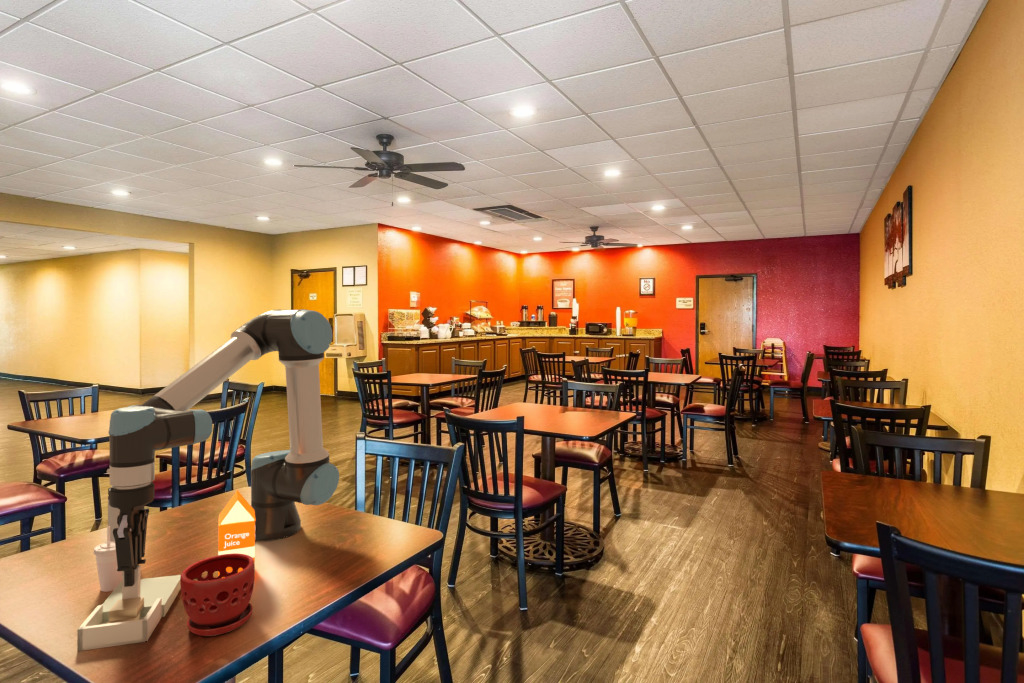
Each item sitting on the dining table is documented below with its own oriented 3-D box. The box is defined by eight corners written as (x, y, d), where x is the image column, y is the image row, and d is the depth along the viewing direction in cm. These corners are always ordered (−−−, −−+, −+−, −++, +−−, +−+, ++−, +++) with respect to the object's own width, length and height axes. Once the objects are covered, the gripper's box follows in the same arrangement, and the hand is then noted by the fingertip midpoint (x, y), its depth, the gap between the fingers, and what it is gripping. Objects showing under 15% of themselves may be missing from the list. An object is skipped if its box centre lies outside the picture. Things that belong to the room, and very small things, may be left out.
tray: (161, 617, 111) (161, 597, 111) (147, 641, 102) (147, 620, 102) (97, 625, 107) (98, 605, 107) (77, 651, 99) (77, 629, 99)
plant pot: (233, 601, 118) (233, 546, 117) (267, 620, 110) (267, 562, 110) (167, 627, 107) (168, 568, 107) (200, 651, 100) (200, 587, 99)
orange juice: (217, 589, 123) (218, 502, 122) (218, 573, 131) (218, 491, 130) (255, 582, 126) (256, 497, 126) (254, 567, 134) (254, 487, 134)
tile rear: (144, 606, 110) (144, 596, 110) (136, 617, 106) (136, 607, 106) (118, 609, 109) (118, 599, 109) (109, 621, 104) (109, 611, 104)
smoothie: (105, 581, 125) (105, 521, 125) (134, 580, 126) (134, 521, 126) (86, 595, 119) (86, 532, 119) (116, 594, 120) (117, 531, 119)
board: (182, 585, 124) (182, 574, 124) (164, 616, 111) (164, 604, 111) (121, 592, 120) (121, 581, 120) (95, 625, 107) (95, 613, 107)
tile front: (140, 621, 108) (140, 611, 108) (131, 633, 104) (132, 623, 104) (113, 624, 107) (113, 614, 107) (104, 637, 102) (104, 627, 102)
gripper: (122, 476, 114) (121, 586, 115) (96, 495, 102) (95, 618, 103) (163, 474, 117) (162, 582, 117) (142, 492, 104) (141, 612, 105)
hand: (131, 598), depth 110 cm, fingers closed
